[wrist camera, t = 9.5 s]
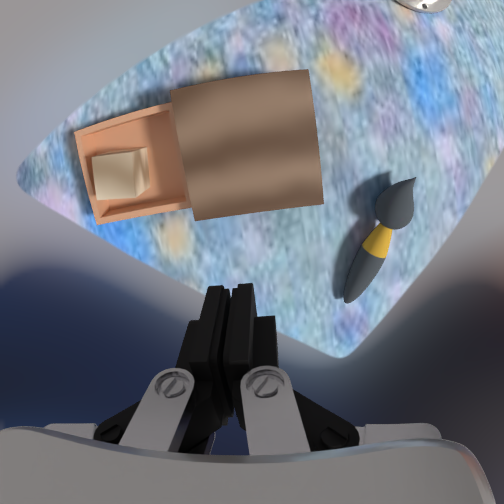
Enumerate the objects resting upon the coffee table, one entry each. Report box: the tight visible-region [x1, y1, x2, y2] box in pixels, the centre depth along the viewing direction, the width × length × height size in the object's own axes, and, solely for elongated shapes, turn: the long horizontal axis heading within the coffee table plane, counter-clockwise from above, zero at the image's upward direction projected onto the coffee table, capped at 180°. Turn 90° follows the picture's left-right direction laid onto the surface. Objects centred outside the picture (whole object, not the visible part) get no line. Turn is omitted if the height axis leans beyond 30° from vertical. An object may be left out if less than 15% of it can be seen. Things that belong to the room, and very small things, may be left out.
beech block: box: [92, 147, 150, 200], centre depth 32 cm, size 5×5×5 cm
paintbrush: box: [344, 177, 416, 303], centre depth 37 cm, size 20×5×5 cm, turn 168°
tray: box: [74, 102, 192, 225], centre depth 33 cm, size 12×13×4 cm
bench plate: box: [170, 69, 324, 221], centre depth 31 cm, size 14×14×6 cm
